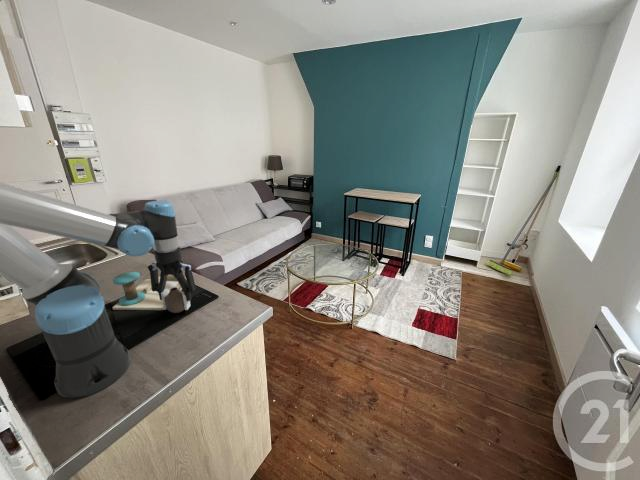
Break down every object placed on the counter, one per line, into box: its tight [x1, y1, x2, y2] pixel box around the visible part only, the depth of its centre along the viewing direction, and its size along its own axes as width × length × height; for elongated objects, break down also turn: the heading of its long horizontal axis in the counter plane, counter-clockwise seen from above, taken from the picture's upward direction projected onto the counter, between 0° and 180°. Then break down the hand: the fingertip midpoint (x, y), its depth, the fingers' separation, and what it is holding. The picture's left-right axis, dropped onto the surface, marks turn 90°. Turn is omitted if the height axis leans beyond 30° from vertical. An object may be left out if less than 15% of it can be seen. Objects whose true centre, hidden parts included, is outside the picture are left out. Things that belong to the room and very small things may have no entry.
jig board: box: [112, 271, 187, 311], centre depth 102 cm, size 20×18×11 cm
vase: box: [165, 287, 185, 314], centre depth 93 cm, size 7×7×9 cm
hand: (177, 307), depth 94 cm, fingers closed on vase, 7 cm apart
